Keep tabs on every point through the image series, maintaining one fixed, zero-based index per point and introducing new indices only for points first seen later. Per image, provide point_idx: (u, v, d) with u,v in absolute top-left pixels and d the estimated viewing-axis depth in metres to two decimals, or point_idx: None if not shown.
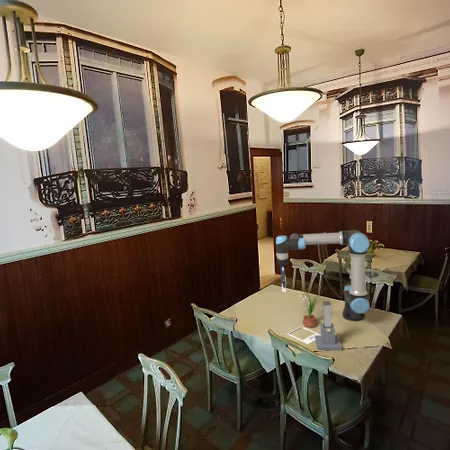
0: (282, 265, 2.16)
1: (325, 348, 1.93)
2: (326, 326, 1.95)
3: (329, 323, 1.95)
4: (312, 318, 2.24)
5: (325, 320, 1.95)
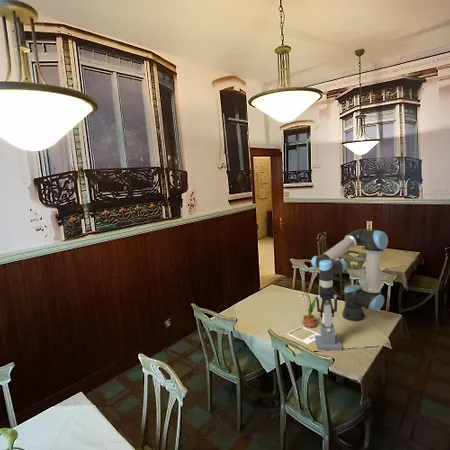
0: None
1: (325, 348, 1.93)
2: (326, 326, 1.95)
3: (329, 323, 1.95)
4: (312, 318, 2.24)
5: (325, 320, 1.95)
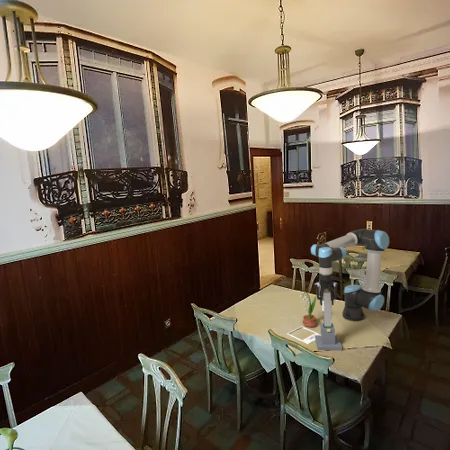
0: None
1: (325, 348, 1.93)
2: (326, 314, 1.94)
3: (329, 311, 1.94)
4: (312, 318, 2.24)
5: (325, 308, 1.94)
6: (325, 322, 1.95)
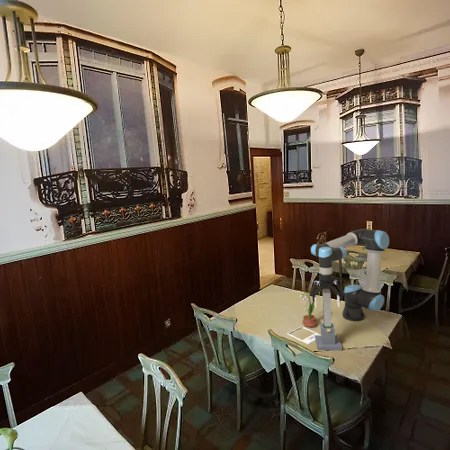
0: None
1: (325, 348, 1.93)
2: (326, 314, 1.94)
3: (329, 311, 1.94)
4: (312, 318, 2.24)
5: (325, 308, 1.94)
6: (325, 322, 1.95)
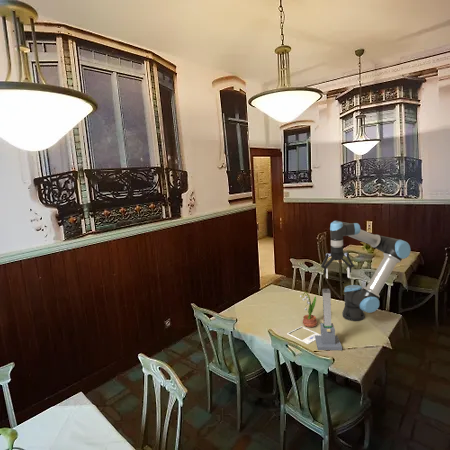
0: (331, 252, 2.08)
1: (325, 348, 1.93)
2: (326, 314, 1.94)
3: (329, 311, 1.94)
4: (312, 318, 2.24)
5: (325, 308, 1.94)
6: (325, 322, 1.95)
